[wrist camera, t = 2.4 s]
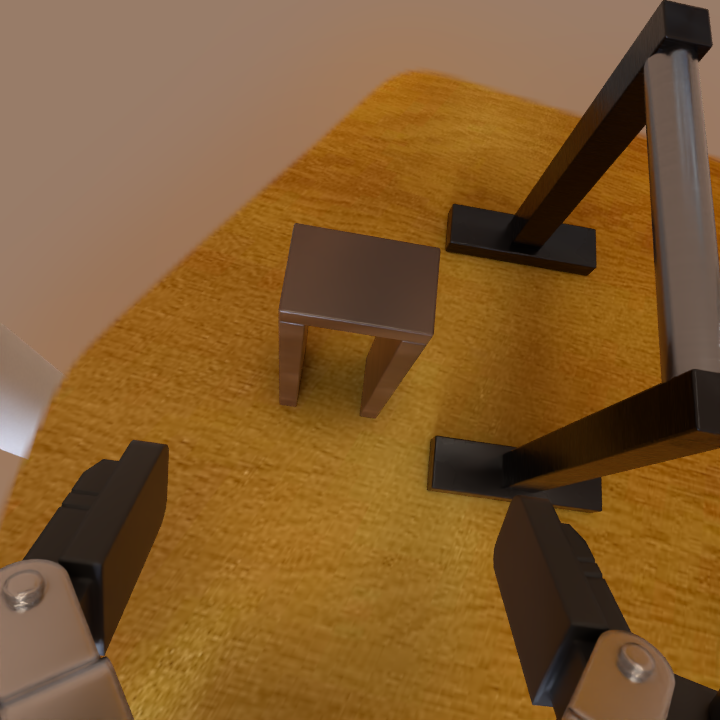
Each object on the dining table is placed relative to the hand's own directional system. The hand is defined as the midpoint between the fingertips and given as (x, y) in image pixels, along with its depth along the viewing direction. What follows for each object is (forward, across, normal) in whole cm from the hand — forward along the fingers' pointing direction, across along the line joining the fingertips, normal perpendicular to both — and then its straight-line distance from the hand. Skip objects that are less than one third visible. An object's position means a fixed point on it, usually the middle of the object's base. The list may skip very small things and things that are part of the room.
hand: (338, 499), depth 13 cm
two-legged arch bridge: (+14, 0, +4) cm, 14 cm away
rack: (+16, -9, +2) cm, 18 cm away
